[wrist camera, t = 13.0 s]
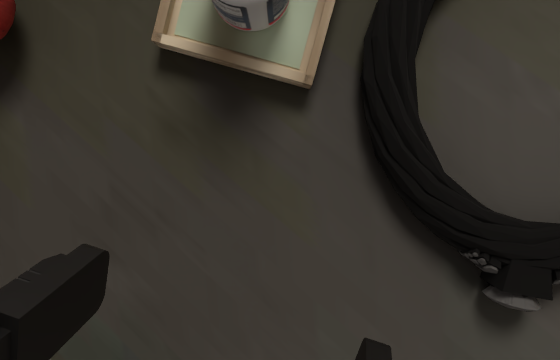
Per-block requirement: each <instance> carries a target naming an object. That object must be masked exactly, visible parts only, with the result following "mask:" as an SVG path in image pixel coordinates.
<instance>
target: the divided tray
mask: <svg viewBox="0 0 560 360" xmlns="http://www.w3.org/2000/svg"><path fill="white" fill-rule="evenodd" d="M334 4H335V0H289V4H288V7H287V9H286V11H285V13H284V14H283V16H282V17H281V18H280V19H279V20H278V21H277V22H276V23H275V24H273V25H272V26H270V27H268V28H266V29H263V30H260V31H243V30H239V29H236V28H234V27H232V26H231V25H229V24H228V23H226V22H225V21H224V20H223V19H222V18H221V16H220V15H219V14H218V12H217V10H216V9H215V6H214V4H213V2H212V0H161V2H160V7H159V11H158V15H157V19H156V23H155V27H154V31H153V35H152V39H151V40H152V41H153V42H154V43H155V44H156V45H158V46H159V47H160V48H164V49H167V50H171V51H174V52H178V53H181V54H185V55H189V56H192V57H196V58H199V59H203V60H207V61H210V62H214V63H217V64H221V65H224V66H228V67H232V68H235V69H239V70H242V71H246V72H249V73H253V74H257V75H260V76H264V77H267V78H271V79H275V80H278V81H282V82H285V83H289V84H292V85H296V86H300V87H303V88H307V89H310V88H311V86H312V83H313V80H314V76H315V72H316V69H317V65H318V61H319V58H320V54H321V51H322V47H323V43H324V40H325V36H326V33H327V29H328V25H329V22H330V18H331V14H332V11H333V7H334Z"/></svg>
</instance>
